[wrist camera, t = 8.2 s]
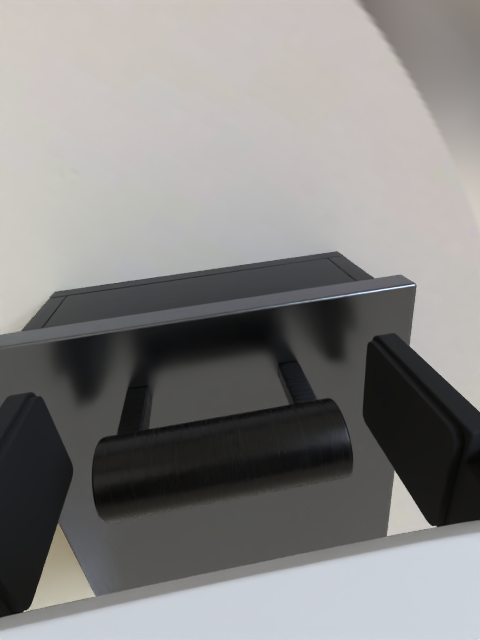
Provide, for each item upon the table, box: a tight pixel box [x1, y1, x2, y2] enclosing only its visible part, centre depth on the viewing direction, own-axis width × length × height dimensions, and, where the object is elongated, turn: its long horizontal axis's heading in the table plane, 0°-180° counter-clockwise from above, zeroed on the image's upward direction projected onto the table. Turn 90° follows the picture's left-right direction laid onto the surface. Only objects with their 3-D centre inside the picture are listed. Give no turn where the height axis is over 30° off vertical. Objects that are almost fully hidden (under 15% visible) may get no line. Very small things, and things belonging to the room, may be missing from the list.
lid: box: [0, 275, 416, 596], centre depth 13 cm, size 16×14×5 cm
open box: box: [21, 252, 375, 332], centre depth 18 cm, size 16×14×6 cm
